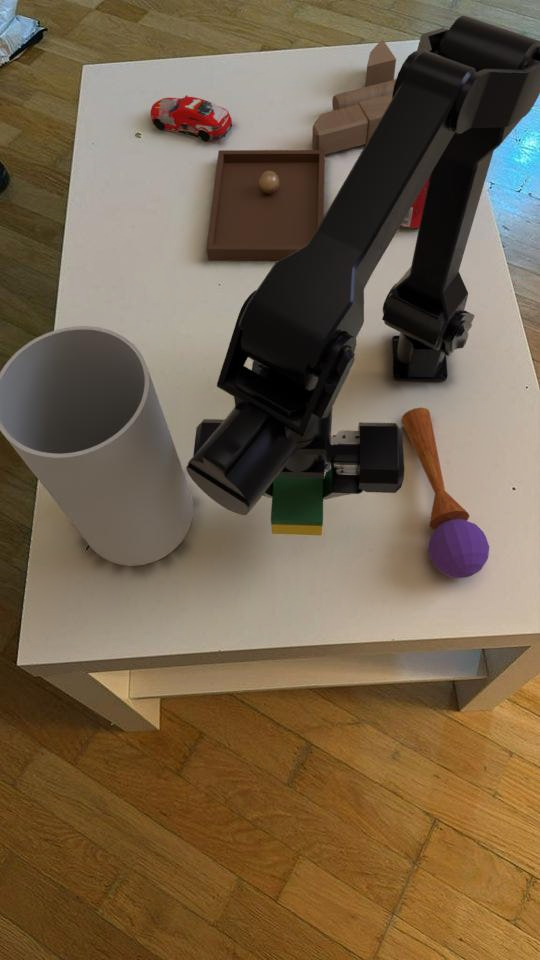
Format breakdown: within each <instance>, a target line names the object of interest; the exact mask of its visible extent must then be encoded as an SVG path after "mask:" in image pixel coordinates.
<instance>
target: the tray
mask: <svg viewBox="0 0 540 960" xmlns="http://www.w3.org/2000/svg"><path fill="white" fill-rule="evenodd" d="M325 160H326V155H325V150H313V149H249V150H248V149H245V150H244V149H243V150H242V149H241V150H240V149H239V150H238V149H237V150H236V149H234V150H233V149H230V150H226V149H225V150H224V149H223V150H222V149H221V150H218V153H217V161H216V168H215V169H216V170H215V176H214V184H213V193H212V200H211V209H210V215H209V224H208V232H207V241H206V247H205V250H206V256H207V261H232V262H233V261H241V262H242V261H245V262H246V261H247V262H248V261H249V262H252V261H253V262H257V261H258V262H259V261H260V262H278V261H279V260H281V259H283V258H285V257H287V256H288V255H290V254H292V253H294V252H295V251H297V250H299V249H301V248H303V247H304V246H306V245H307V243H308V242H309V240H310V239H311V238H312V236H313V235H314V233H315V232H316V230H317V228H318V227H319V225H320V223H321V221H322V220H323V218H324V206H325V167H326V166H325V163H326V161H325ZM265 171H273V172H275V173H276V174H277V175H278V177H279V181H280V184H279V187H278V189H277V190H276V191H275V192H274V193H272V194H266V193H264V192H263V191H262V190H261V189H260V187H259V177H260V176H261V174H262V173H264V172H265Z"/></svg>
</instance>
